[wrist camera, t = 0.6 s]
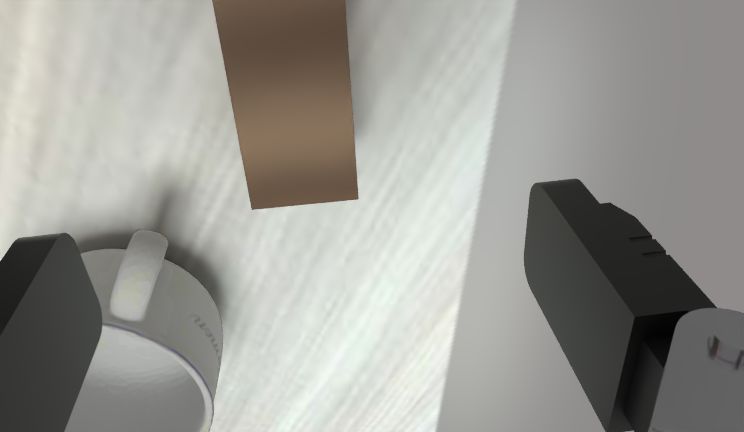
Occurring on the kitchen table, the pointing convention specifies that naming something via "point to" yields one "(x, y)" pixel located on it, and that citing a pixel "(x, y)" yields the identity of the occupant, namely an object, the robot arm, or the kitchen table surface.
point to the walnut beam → (290, 98)
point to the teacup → (149, 344)
